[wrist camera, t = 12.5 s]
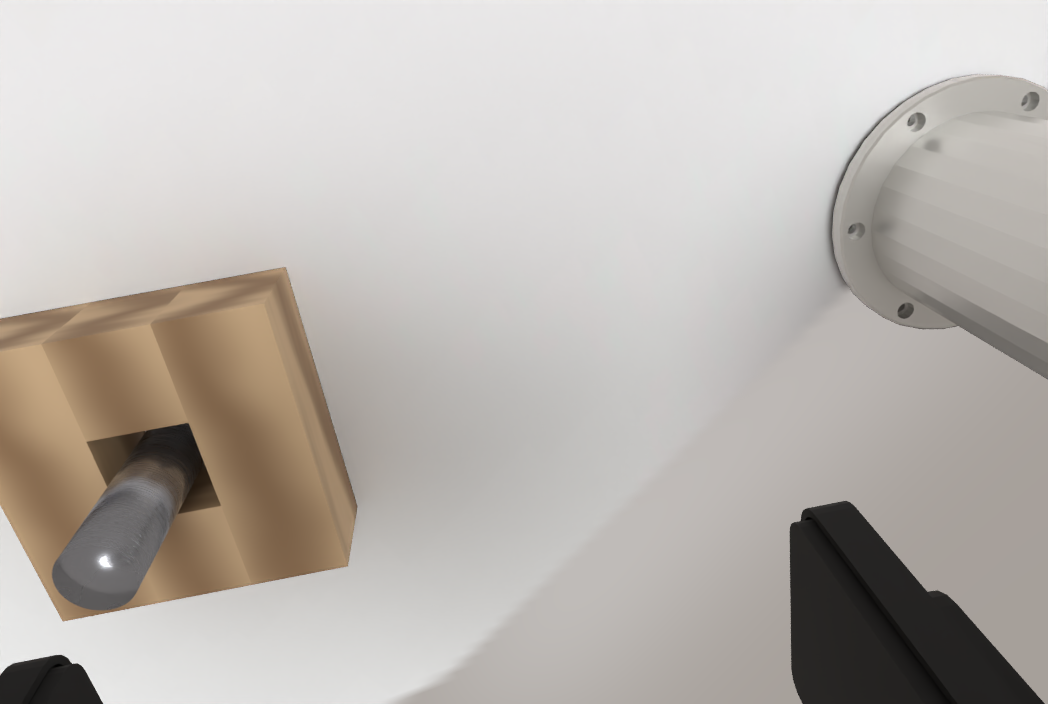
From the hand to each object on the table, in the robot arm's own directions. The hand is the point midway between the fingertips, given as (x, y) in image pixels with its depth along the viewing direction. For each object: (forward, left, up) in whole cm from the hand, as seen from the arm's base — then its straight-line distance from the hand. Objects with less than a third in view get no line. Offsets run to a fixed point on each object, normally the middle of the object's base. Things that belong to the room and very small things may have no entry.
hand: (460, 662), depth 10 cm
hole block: (+15, +9, -28) cm, 33 cm away
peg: (+15, +9, -28) cm, 33 cm away
